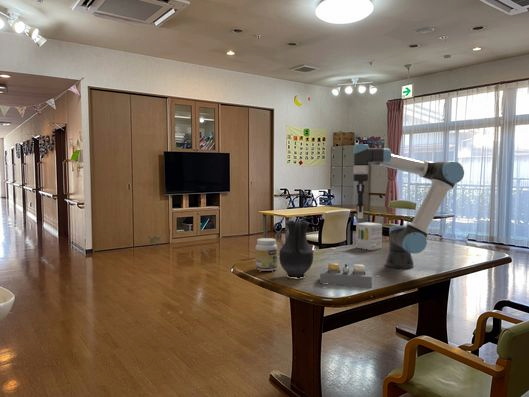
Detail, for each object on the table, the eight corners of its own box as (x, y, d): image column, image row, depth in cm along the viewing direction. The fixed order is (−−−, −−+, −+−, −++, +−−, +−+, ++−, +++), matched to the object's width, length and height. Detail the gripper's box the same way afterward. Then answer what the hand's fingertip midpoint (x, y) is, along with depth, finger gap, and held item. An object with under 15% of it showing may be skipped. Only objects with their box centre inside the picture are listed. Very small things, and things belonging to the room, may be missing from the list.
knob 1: (339, 278, 196) (339, 263, 196) (338, 280, 191) (339, 265, 191) (328, 277, 198) (328, 262, 197) (327, 280, 192) (327, 265, 192)
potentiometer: (349, 273, 191) (349, 263, 191) (348, 274, 188) (348, 265, 188) (343, 272, 192) (343, 263, 192) (342, 274, 189) (342, 264, 189)
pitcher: (311, 273, 211) (312, 217, 209) (315, 283, 190) (315, 222, 188) (279, 272, 212) (279, 217, 210) (279, 283, 191) (279, 222, 189)
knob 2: (364, 279, 193) (364, 264, 193) (364, 282, 188) (364, 267, 188) (353, 278, 195) (353, 263, 194) (352, 281, 189) (353, 266, 189)
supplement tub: (270, 273, 210) (270, 242, 209) (251, 270, 216) (251, 240, 215) (281, 268, 221) (281, 238, 220) (262, 266, 227) (262, 237, 226)
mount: (371, 280, 196) (371, 270, 195) (371, 287, 184) (371, 276, 184) (322, 277, 202) (322, 267, 201) (320, 283, 190) (320, 273, 190)
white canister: (355, 247, 283) (355, 223, 282) (366, 245, 291) (367, 222, 290) (370, 250, 273) (370, 225, 271) (382, 248, 281) (382, 223, 279)
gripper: (353, 173, 216) (353, 216, 217) (353, 173, 203) (352, 219, 204) (368, 173, 214) (367, 217, 215) (368, 173, 201) (367, 219, 203)
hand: (360, 218), depth 210 cm, fingers closed
